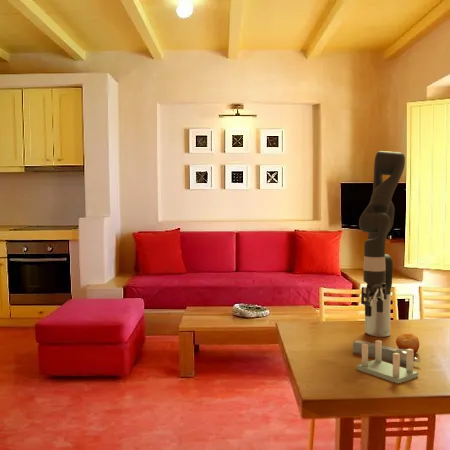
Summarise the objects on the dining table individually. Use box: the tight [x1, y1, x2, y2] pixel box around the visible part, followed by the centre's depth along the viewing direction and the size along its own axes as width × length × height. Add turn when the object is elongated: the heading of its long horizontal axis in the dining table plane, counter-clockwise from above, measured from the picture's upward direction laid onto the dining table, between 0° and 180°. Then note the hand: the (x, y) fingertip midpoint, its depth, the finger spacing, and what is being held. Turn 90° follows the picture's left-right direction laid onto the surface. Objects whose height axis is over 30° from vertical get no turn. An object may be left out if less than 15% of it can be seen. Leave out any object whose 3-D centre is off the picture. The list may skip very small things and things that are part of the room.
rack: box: [356, 339, 419, 385], centre depth 162 cm, size 16×10×8 cm, turn 35°
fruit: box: [395, 332, 420, 355], centre depth 184 cm, size 8×8×8 cm
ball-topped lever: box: [352, 339, 421, 367], centre depth 176 cm, size 24×6×4 cm, turn 45°
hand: (374, 314), depth 179 cm, fingers open, 8 cm apart
